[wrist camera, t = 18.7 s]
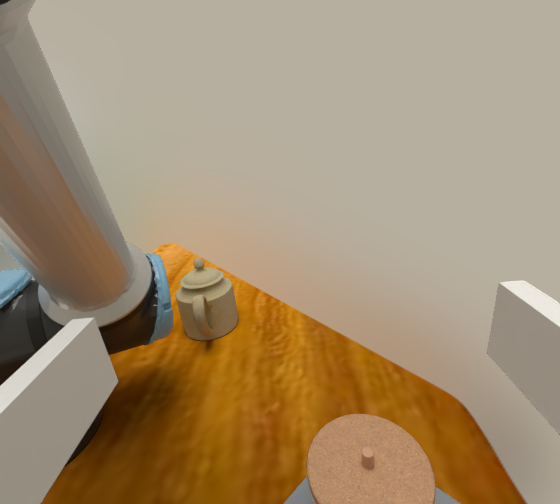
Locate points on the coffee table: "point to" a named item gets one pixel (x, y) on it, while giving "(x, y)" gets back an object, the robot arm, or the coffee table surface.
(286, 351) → the coffee table surface
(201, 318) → the beige teapot
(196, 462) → the coffee table surface
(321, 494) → the lidded jar
